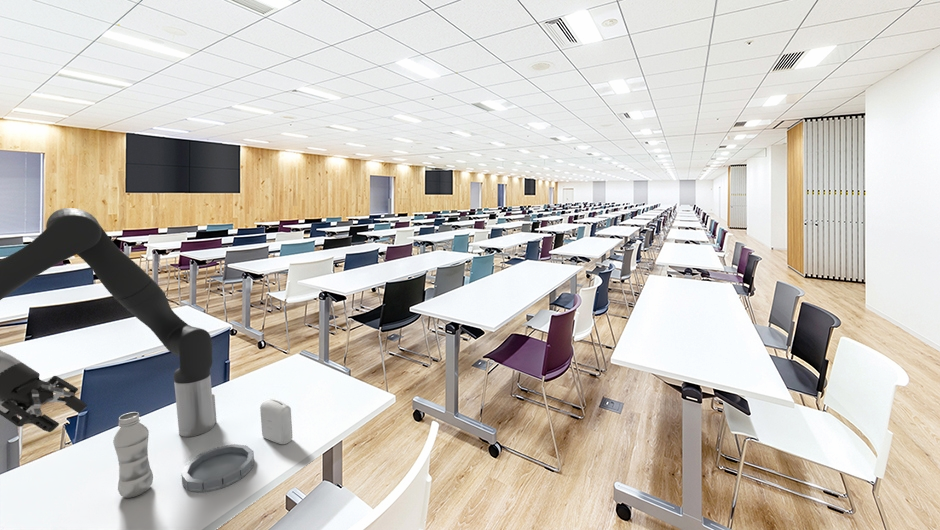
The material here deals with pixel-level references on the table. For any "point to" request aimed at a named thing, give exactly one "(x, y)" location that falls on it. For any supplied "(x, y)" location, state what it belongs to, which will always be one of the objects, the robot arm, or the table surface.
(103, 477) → the table surface
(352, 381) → the table surface
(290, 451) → the table surface
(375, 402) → the table surface
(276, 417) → the photo printer
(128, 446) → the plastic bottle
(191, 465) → the round tray
